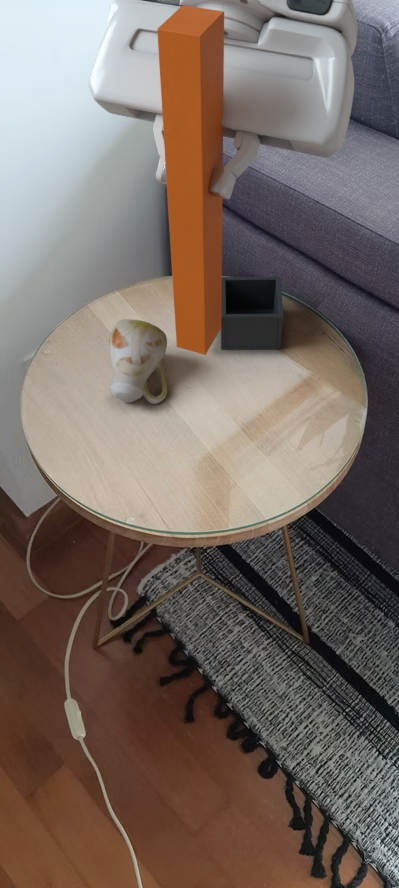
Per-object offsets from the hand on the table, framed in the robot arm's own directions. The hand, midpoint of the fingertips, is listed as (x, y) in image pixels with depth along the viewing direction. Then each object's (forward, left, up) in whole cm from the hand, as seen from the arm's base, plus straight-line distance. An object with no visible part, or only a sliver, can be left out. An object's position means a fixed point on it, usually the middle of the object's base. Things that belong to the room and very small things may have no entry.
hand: (192, 190), depth 53 cm
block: (0, -1, -16) cm, 16 cm away
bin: (0, -21, -33) cm, 39 cm away
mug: (+11, -8, -33) cm, 36 cm away
